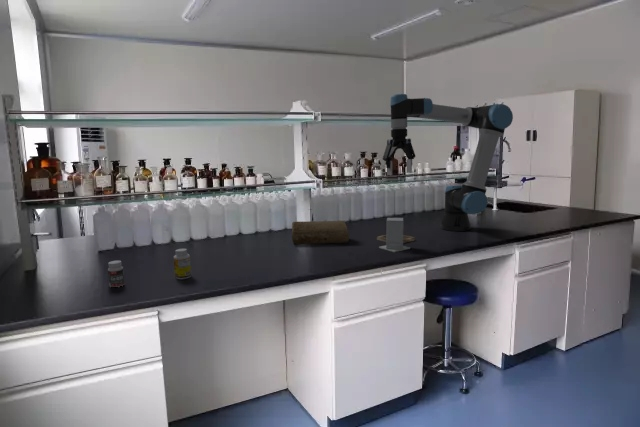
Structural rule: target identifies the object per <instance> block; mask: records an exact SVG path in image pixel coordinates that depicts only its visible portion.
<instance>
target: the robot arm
mask: <svg viewBox="0 0 640 427" xmlns="http://www.w3.org/2000/svg"><path fill="white" fill-rule="evenodd" d="M389 106H390V128H391V130H390V137H391V138H392V139H387V141H386V147H385V150H384V153H383V156H382V161H384V162H385V167H386V176H393V160H392V159H393V157H394V155H395V153H396V151H397V150H399V149H401V150H402V151H403V153H404V155H405V156H406V158H407V159H405V160H406V171H405V172H406V173H407V174H408V173H409V174H412V173H413V172H412V171H413V170H412V168H413V160H414V159H415V158H416V154H415V149H414V147H413V144H412V138H407V137H408V118H410V117H411V118H419V119H425V120H433V121H442V122H448V123H456V124H462V126H464V127H470V128H475V129H478V132H479V138H478V142H477V145H476V149H475V152H474V155H473V159H472V162H471V165H470V169H469V172H468V175H467V179H466V181H465V182H463V183H462V184H461V185H448V186H446V187H445V191H444V215H443V217H442V219H441V223H440V229H442V230H445V231H450V232H451V231H452V232H465V231H470V230H471V228H472V226H471V221H470V218H469V215H478V214H481V213H482V212H483V211H484V210H485V209H486V208H487V206H488V198H487V195H486V193H487V190H488V189H487V188H486V186H485V185H486V182H487V178H488V175H489V172H490V168H491V166H492V161H493V158H494V156H495V152H496V149H497V145H498V141H499V139H500V137H503V136H504V134H505V131H506V129H507V128H509V126H510V127H511V125H512V123H513V118H514V116H513V114H514V113H513V111H512V110H511V108H510V107H509V106H508V105H506V104H504V103H494V104H491V105H484V106H483V105H482V106H478V107H477V106H474V107H472V106H467V107H465V108H464V107H457V106H452V105H451V106H450V105H449V106H448V105H443V104H442V105H441V104H434V103H433V100H432V99H431V98H428V97H422V98H421V97H419V98H408V95H407V94H406V93H398V94H392V95H391V97H390V105H389Z"/></svg>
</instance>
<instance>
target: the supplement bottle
mask: <svg viewBox="0 0 640 427" xmlns="http://www.w3.org/2000/svg"><path fill="white" fill-rule="evenodd" d="M174 251H175V255H173V266H174V278H175V279H177V280H186V279H190V278H191V277H192V266H191V256H190V254H189V253H188V248H178V249H176V250H174Z"/></svg>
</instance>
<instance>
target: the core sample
mask: <svg viewBox="0 0 640 427" xmlns="http://www.w3.org/2000/svg"><path fill="white" fill-rule="evenodd" d="M291 226H292V228H291V240H292V243H293V245H317V244H318V245H319V244H339V243H341V244H342V243H343V244H344V243H348V242H349V240H350V234H349V229H348V228H347V227H348V226H347V224H346V222H345V220H328V221H327V220H326V221H324V220H323V221H321V220H320V221H317V220H316V221H309V220H308V221H293V222H292V224H291Z"/></svg>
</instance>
